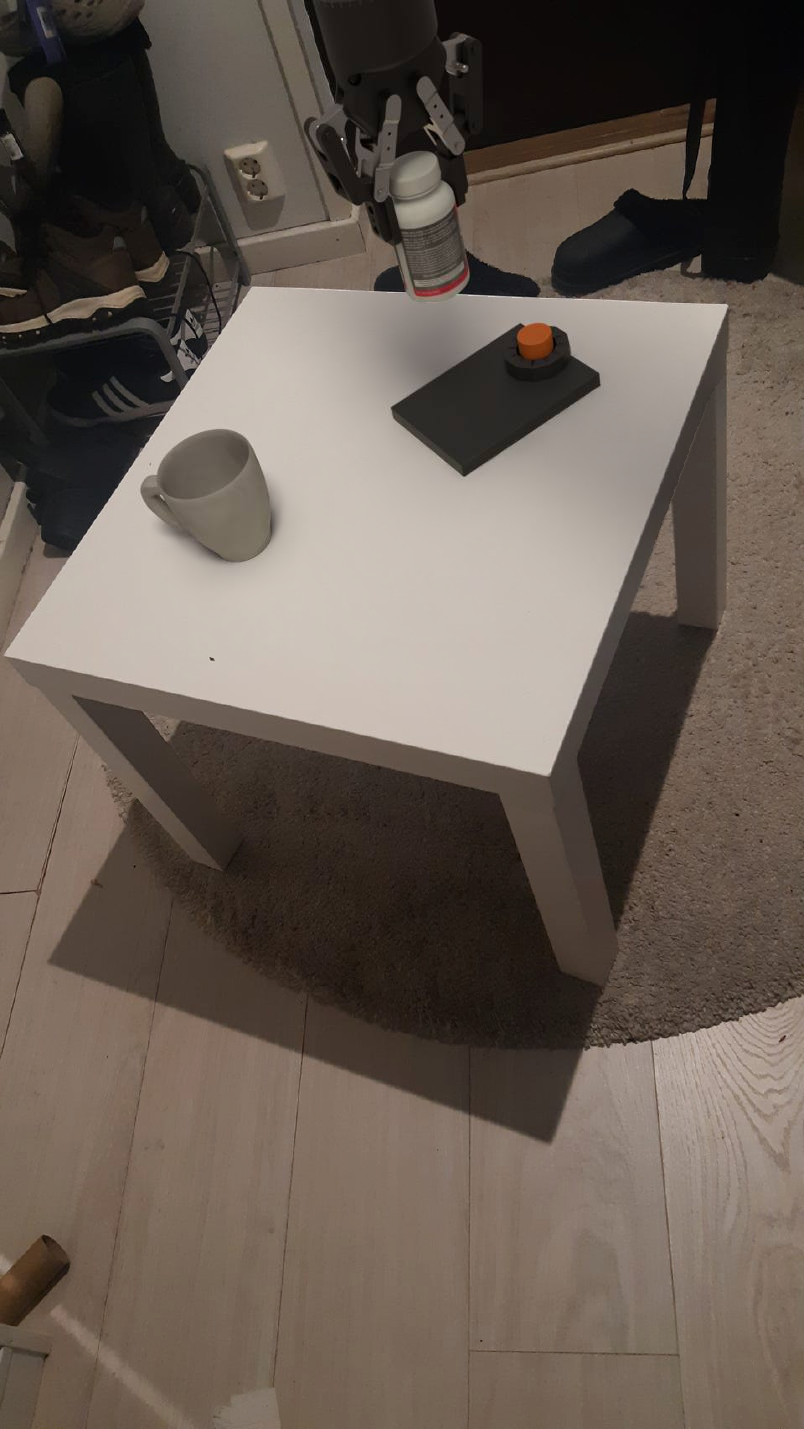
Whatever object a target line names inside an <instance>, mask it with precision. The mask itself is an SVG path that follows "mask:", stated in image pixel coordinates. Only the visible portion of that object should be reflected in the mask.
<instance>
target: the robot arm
mask: <svg viewBox="0 0 804 1429" xmlns="http://www.w3.org/2000/svg"><path fill="white" fill-rule="evenodd" d="M312 4H313V7H314V10H315V11H314V12H315V14H316V17H317V22H318V25H319V29H320V32H321V37H322V40H323V44H324V48H325V50H326V54H327V58H328V62H329V64H330V67H331V70H332V72H333V75H334V78H335V93H334V94H335V96H334V104H333V105H332V106H331V107H330V108H329V109H328V110H327V111H325V113H324V114H322V115H321V117H319V118H317V117H314V116H309V117H308V118H306V119H305V121H304V123H303V132H304V134H305V136H306V138H307V140H308V142H309V144H310V145H311V148H312V149H313V151H314V153H315V155H316V158H317V159H318V161H319V163H320V165H321V167H322V170H323V171H324V172H325V175H326V176H327V179H328V181H329V183H330V184H331V186H332V188H333V190H334V192H335V194H336V195H337V196H339V197H340V198H343V199H344V200H346V201H347V202H349V203H351V204H352V205H354V206H357V207H360V206H362V205H363V204H364V206H365V209H366V213H367V216H368V220H369V224H370V227H371V228H370V229H371V231H372V233H373V234H374V235H375V236H376V237H377V238H378V239H379V240H381V241H382V242H384V243H387V244H388V245H390V246H391V247H393V248H394V247H395V246H396V245H398V244H400V243H401V242H402V235H401V231H400V227H399V223H398V220H397V216H396V212H395V208H394V204H393V200H392V197H391V196H390V194H389V179H390V168H391V166H393V165H394V163H395V159H396V150H397V144H399V143H400V142H402V141H403V140H404V139H405V138H406V137H407V136H408V135H409V134H410V133H411V132H416V131H419V130H421V129H424V131H425V133H426V134H427V135H428V137H429V138H430V139H431V141H432V143H433V144H434V145H435V146H436V148H437V150H436V151H434V152H433V154H435V156H436V157H437V159H438V163H439V167H440V170H441V180H442V181H444V182H446V183H447V184H448V185H449V186H450V187H451V188H452V190H453V193H454V197H455V202H456V207H457V209H458V208H460V207H461V206H463V205H464V204H466V202H467V197H466V194H468V191H469V180H468V175H467V169H466V164H465V158H464V153H463V152H464V150H465V148H466V142H467V141H468V140H469V139H470V137H471V136H472V135H473V136H476V135H477V136H478V135H479V134H480V132H482V130H483V126H484V109H483V108H484V106H483V104H484V103H483V100H484V98H483V97H484V96H483V95H484V94H483V93H484V92H483V45H482V42H481V41H480V40H479V39H477V38H474V37H472V36H470V35H467V34H465V33H460V32H458V31H454V32H452V33H451V34H450V35H449V38H448V40H444V41H441V39H440V38H439V36H438V34H437V33H438V29H439V25H438V24H439V23H438V17H437V13H436V12H437V11H436V7H435V1H434V0H312ZM445 71H446V72H447V73H448V88H449V90H448V91H449V109H448V108H447V106H446V105H445V103H444V102H443V100H442V98H441V97H440V95H439V91H440V88H441V85H442V81H443V77H444V73H445ZM348 121H349V122H350V123H351V124H352V125H353V126H355V143H354V144H355V145H354V147H355V148H354V151H355V155H356V157H357V160H358V161H357V171H356V170H355V167H354V165H353V163H352V161H351V159H350V157H349V155H348V153H347V151H346V149H345V147H344V146H346V145H347V144H348V138H347V134H346V130H345V129H346V128H345V127H346V123H347V122H348ZM375 141H376V142H377V144H376V142H375Z"/></svg>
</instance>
